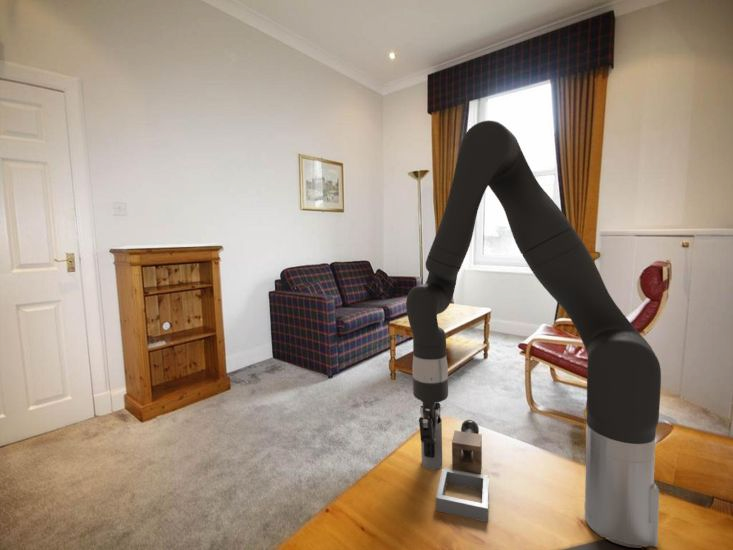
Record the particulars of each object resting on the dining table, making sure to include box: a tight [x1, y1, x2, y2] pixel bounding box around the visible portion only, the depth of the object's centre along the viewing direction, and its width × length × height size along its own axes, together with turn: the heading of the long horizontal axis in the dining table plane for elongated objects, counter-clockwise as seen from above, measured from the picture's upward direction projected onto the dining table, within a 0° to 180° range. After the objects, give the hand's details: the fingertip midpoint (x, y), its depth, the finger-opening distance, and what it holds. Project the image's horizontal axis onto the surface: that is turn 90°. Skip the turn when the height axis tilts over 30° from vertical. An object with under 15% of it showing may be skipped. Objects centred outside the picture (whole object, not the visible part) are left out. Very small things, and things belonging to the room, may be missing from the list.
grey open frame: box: [435, 467, 490, 523], centre depth 67 cm, size 9×9×2 cm
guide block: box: [451, 430, 483, 475], centre depth 76 cm, size 6×5×7 cm
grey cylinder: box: [420, 417, 443, 471], centre depth 78 cm, size 4×4×10 cm
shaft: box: [460, 419, 480, 454], centre depth 81 cm, size 4×10×4 cm, turn 160°
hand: (431, 449), depth 78 cm, fingers closed on grey cylinder, 4 cm apart
